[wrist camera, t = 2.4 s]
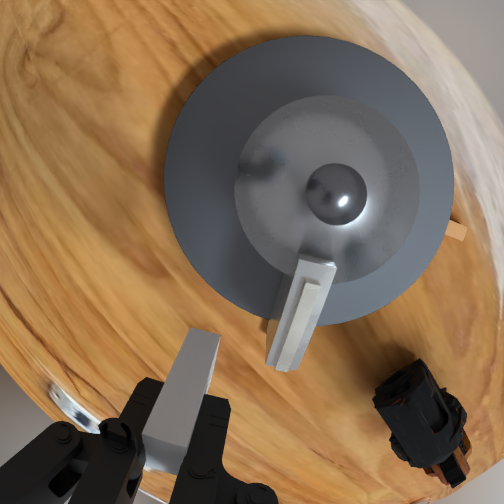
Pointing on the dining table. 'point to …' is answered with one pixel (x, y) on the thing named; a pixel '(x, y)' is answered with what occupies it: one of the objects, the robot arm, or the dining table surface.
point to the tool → (425, 423)
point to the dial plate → (239, 131)
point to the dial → (322, 206)
